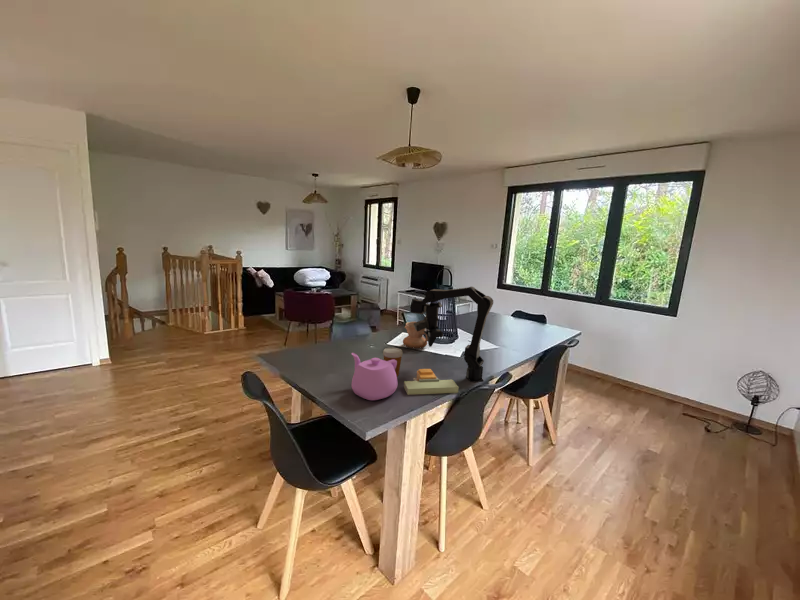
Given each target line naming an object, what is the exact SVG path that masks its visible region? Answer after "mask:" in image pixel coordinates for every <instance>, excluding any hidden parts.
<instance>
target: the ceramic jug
mask: <svg viewBox="0 0 800 600" xmlns="http://www.w3.org/2000/svg"><path fill="white" fill-rule="evenodd" d="M416 322H417V321H410V322H405V326H404V329H406V332H407V336H406V337H404V338H403V340H402V344H403V345H404V346H405V347H406V348H409V349H412V350H413V349H415V350H416V349H417V350H419V349H423V348H425V347H426V346H427V345H428V339H427V335H426V334H425V333H424V332H423V331H425V329H422V330H420V331H416V330H415V327H414V323H416ZM424 335H425V337H424Z"/></svg>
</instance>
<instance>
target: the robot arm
mask: <svg viewBox="0 0 800 600" xmlns="http://www.w3.org/2000/svg"><path fill="white" fill-rule="evenodd" d="M461 297H469V298H470V299H471V300H472V301H473V302H474V303H475V304H476V305H477V307H476V310H477V311H476V312H477V315H476V316H477V317H476V320H475V325H474V329H473V333H472V336H471V341H470V344H467V345H466V346H465V347H464V353H463V355H462V356H464V357H463V360H464V361H465V363H466V365H467V368H466V373H465V377H466V378H467V379H468V380H469V381H470V382H484V379H483V372H484V367H483V364H484V362H485V360H484V359H483V357H482V356H481V355H480V354H481V347H480V346H481V342H482V336H483V334H484V329H485V324H486V320H487V317H488V316H489V314H490V312H491V310H492V307H493V305H494V300H493V298H492V297H491V296H489V295H486V294H484V293H483V292H482V291H479V290H478V289H476V288H475V287H474V286H468V287H461V288H452V289H437V288H436V289H435V288H433V289H430V290H427V292H426V293H425V296H424V297H423V299H421V300H420V299H412V302H411V305H410V307H409V308H410V313H411V314H417V315H418V314H419V315H424V314H425V316H424V317H423V319H421V320H418V321H415V322H416V323H414V327H415V330H416V331H420V330H422V329H425V331H423V332H424V333H425V334H426V335H427V339H428V341H427V345H428V347H432V346H433V344H434V343H435V340H436V339H437V338H443V337H444V332H443V331H442V330H440V329H439V326H438V322H439V321H440V319H439V308H443V307H444V305H443V304H442V303H441V302H440V301H441V300H442V301H443V300H445V299H450V298H452V299H453V298H461ZM425 334H424V335H425ZM426 335H425V336H426Z"/></svg>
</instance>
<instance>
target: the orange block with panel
mask: <svg viewBox="0 0 800 600" xmlns="http://www.w3.org/2000/svg"><path fill="white" fill-rule="evenodd" d="M436 377H437V376H436V374H435V373H434V371H433V370H432V369H431V368H418V370H416V379H417V381H419V379H436Z"/></svg>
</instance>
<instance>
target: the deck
mask: <svg viewBox="0 0 800 600" xmlns="http://www.w3.org/2000/svg"><path fill="white" fill-rule="evenodd" d="M412 378H413V379H412V380H407V381H406V380H404V381H403V388H404V391H405V392H406V395H412V396H413V395H434V394H457V393H459V388H460V387H459V386H458V385H457V383H456V382H455V381H454V380H453V379H440V378H438V376H436V379H419V381H417V377H412Z"/></svg>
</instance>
